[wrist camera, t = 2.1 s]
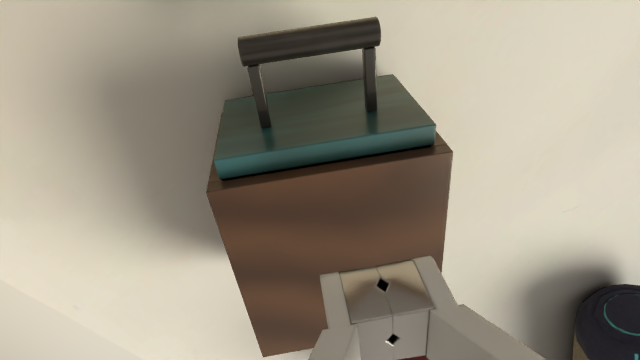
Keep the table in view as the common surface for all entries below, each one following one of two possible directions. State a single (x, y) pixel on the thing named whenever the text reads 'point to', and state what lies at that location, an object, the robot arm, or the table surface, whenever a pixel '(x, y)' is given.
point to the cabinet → (326, 231)
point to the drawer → (317, 107)
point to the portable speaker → (609, 325)
